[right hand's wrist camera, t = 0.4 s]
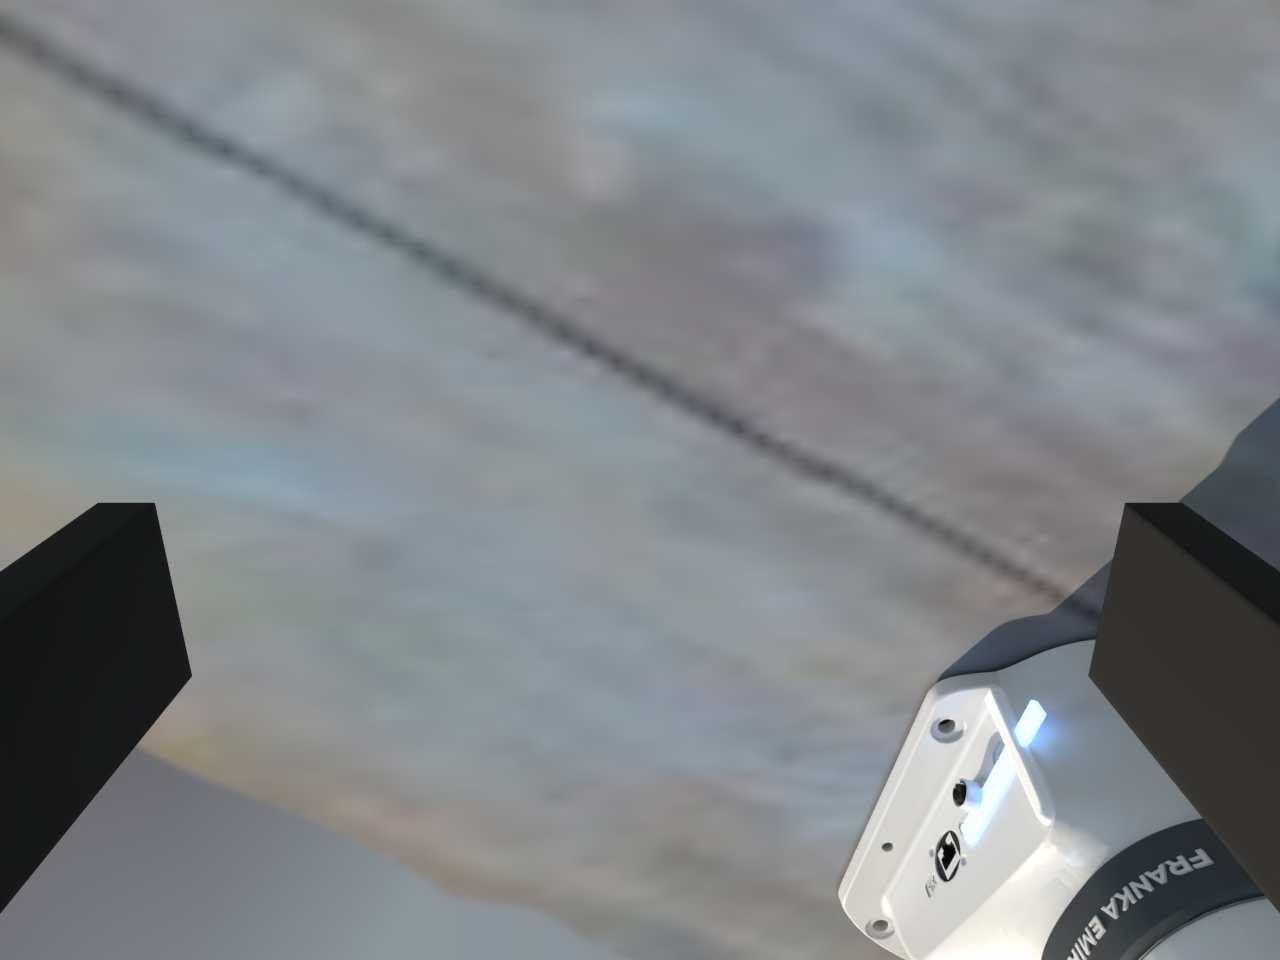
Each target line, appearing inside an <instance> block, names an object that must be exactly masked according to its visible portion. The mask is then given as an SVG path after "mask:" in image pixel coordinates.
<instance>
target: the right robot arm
mask: <svg viewBox="0 0 1280 960" xmlns="http://www.w3.org/2000/svg"><path fill="white" fill-rule="evenodd" d="M191 677H192V674H191V669H190V665H189V660H188V655H187V651H186V646H185V641H184V637H183V632H182V627H181V623H180V618H179V613H178V609H177V604H176V599H175V595H174V590H173V585H172V581H171V576H170V572H169V567H168V562H167V558H166V553H165V548H164V544H163V539H162V534H161V530H160V525H159V520H158V516H157V511H156V506H155V503H97V504H96V505H94V506H93V507H92V508H90V509H89V510H87V511H86V512H84V513H83V514H82V515H80V516H79V517H77V518H76V519H74V520H73V521H72V522H70V523H69V524H67V525H66V526H65V527H63V528H62V529H60V530H59V531H57V532H56V533H55V534H53V535H52V536H50V537H49V538H48V539H46V540H45V541H43V542H42V543H40V544H39V545H38V546H36V547H35V548H33V549H32V550H30V551H29V552H28V553H26V554H25V555H23V556H22V557H21V558H19V559H18V560H16V561H15V562H13V563H12V564H11V565H9V566H8V567H6V568H5V569H4V570H2V571H1V572H0V913H1V912H2V911H3V910H4V908H5V907H6V906H7V904H8V903H9V902H10V901H11V900H12V898H13V897H14V896H15V895H16V893H17V892H18V891H19V890H20V888H21V887H22V886H23V885H24V884H25V882H26V881H27V880H28V879H29V877H30V876H31V875H32V874H33V872H34V871H35V870H36V869H37V867H38V866H39V865H40V864H41V862H42V861H43V860H44V859H45V857H46V856H47V855H48V854H49V853H50V851H51V850H52V849H53V848H54V846H55V845H56V844H57V843H58V841H59V840H60V839H61V838H62V836H63V835H64V834H65V833H66V831H67V830H68V829H69V828H70V827H71V825H72V824H73V823H74V822H75V820H76V819H77V818H78V817H79V815H80V814H81V813H82V812H83V810H84V809H85V808H86V807H87V805H88V804H89V803H90V802H91V801H92V799H93V798H94V797H95V796H96V794H97V793H98V792H99V791H100V789H101V788H102V787H103V786H104V784H105V783H106V782H107V781H108V779H109V778H110V777H111V776H112V775H113V773H114V772H115V771H116V770H117V768H118V767H119V766H120V765H121V763H122V762H123V761H124V760H125V758H126V757H127V756H128V755H129V753H130V752H131V751H132V750H133V748H134V747H135V746H136V745H137V744H138V742H139V741H140V740H141V739H142V737H143V736H144V735H145V734H146V732H147V731H148V730H149V729H150V727H151V726H152V725H153V724H154V722H155V721H156V720H157V719H158V718H159V716H160V715H161V714H162V713H163V711H164V710H165V709H166V708H167V706H168V705H169V704H170V703H171V701H172V700H173V699H174V698H175V696H176V695H177V694H178V693H179V692H180V690H181V689H182V688H183V687H184V685H185V684H186V683H187V682H188V680H189V679H190V678H191ZM1088 677H1089V678H1090V679H1091V680H1092V682H1093V683H1094V684H1095V685H1096V687H1097V688H1098V689H1099V690H1100V692H1101V693H1102V694H1103V695H1104V696H1105V698H1106V699H1107V700H1108V701H1109V703H1110V704H1111V705H1112V706H1113V708H1114V709H1115V710H1116V711H1117V713H1118V714H1119V715H1120V716H1121V718H1122V719H1123V720H1124V721H1125V722H1126V724H1127V725H1128V726H1129V727H1130V729H1131V730H1132V731H1133V732H1134V734H1135V735H1136V736H1137V737H1138V739H1139V740H1140V741H1141V742H1142V744H1143V745H1144V746H1145V747H1146V748H1147V750H1148V751H1149V752H1150V753H1151V755H1152V756H1153V757H1154V758H1155V760H1156V761H1157V762H1158V763H1159V765H1160V766H1161V767H1162V768H1163V770H1164V771H1165V772H1166V773H1167V775H1168V776H1169V777H1170V778H1171V779H1172V781H1173V782H1174V783H1175V784H1176V786H1177V787H1178V788H1179V789H1180V791H1181V792H1182V793H1183V794H1184V796H1185V797H1186V798H1187V799H1188V801H1189V802H1190V803H1191V804H1192V805H1193V807H1194V808H1195V809H1196V810H1197V812H1198V813H1199V814H1200V815H1201V817H1202V818H1203V819H1204V820H1205V822H1206V823H1207V824H1208V825H1209V827H1210V828H1211V829H1212V830H1213V831H1214V833H1215V834H1216V835H1217V836H1218V838H1219V839H1220V840H1221V841H1222V843H1223V844H1224V845H1225V846H1226V848H1227V849H1228V850H1229V851H1230V853H1231V854H1232V855H1233V856H1234V858H1235V859H1236V860H1237V861H1238V862H1239V864H1240V865H1241V866H1242V867H1243V869H1244V870H1245V871H1246V872H1247V874H1248V875H1249V876H1250V877H1251V879H1252V880H1253V881H1254V882H1255V884H1256V885H1257V886H1258V887H1259V888H1260V890H1261V891H1262V892H1263V893H1264V895H1265V896H1266V897H1267V898H1268V900H1269V901H1270V902H1271V903H1272V905H1273V906H1274V907H1275V908H1276V910H1277V911H1278V912H1279V913H1280V572H1279V571H1278V570H1276V569H1275V568H1274V567H1272V566H1271V565H1269V564H1268V563H1267V562H1265V561H1264V560H1262V559H1261V558H1259V557H1258V556H1257V555H1255V554H1254V553H1252V552H1251V551H1250V550H1248V549H1247V548H1245V547H1244V546H1242V545H1241V544H1240V543H1238V542H1237V541H1235V540H1234V539H1232V538H1231V537H1230V536H1228V535H1227V534H1225V533H1224V532H1223V531H1221V530H1220V529H1218V528H1217V527H1215V526H1214V525H1213V524H1211V523H1210V522H1208V521H1207V520H1206V519H1204V518H1203V517H1201V516H1200V515H1198V514H1197V513H1196V512H1194V511H1193V510H1191V509H1190V508H1188V507H1187V506H1186V505H1184V504H1183V503H1125V506H1124V511H1123V516H1122V520H1121V525H1120V530H1119V534H1118V539H1117V544H1116V548H1115V553H1114V558H1113V562H1112V567H1111V572H1110V576H1109V581H1108V585H1107V590H1106V595H1105V599H1104V604H1103V609H1102V613H1101V618H1100V623H1099V627H1098V632H1097V637H1096V641H1095V646H1094V651H1093V655H1092V660H1091V665H1090V669H1089V674H1088Z"/></svg>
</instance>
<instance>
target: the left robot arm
mask: <svg viewBox="0 0 1280 960" xmlns="http://www.w3.org/2000/svg"><path fill="white" fill-rule="evenodd" d="M1095 641H1096V639H1094V640H1086V641H1080V642H1075V643H1070V644H1066V645H1063V646H1059V647H1056V648H1053V649H1050V650H1047V651H1044V652H1042V653H1039V654H1037V655H1034V656H1032V657H1030V658H1028V659H1026V660H1023V661H1021V662H1019V663H1017V664H1015V665H1012V666H1010V667H1007V668H1005V669H1002V670H998V671H995V672H984V673H974V674H965V675H959V676H954V677H949V678H946V679H943V680H941V681H939V682H938V683H936V684H935V685H934V686H932V688H931V689H930V690H929V692H928V693H927V695H926V697H925V699H924V702H923V704H922V706H921V708H920V710H919V713H918V715H917V717H916V719H915V721H914V724H913V726H912V728H911V730H910V732H909V735H908V737H907V739H906V741H905V743H904V746H903V748H902V750H901V752H900V754H899V756H898V759H897V761H896V763H895V765H894V767H893V770H892V772H891V774H890V776H889V778H888V781H887V783H886V785H885V787H884V789H883V792H882V794H881V796H880V798H879V800H878V803H877V805H876V807H875V809H874V811H873V814H872V816H871V818H870V820H869V822H868V825H867V827H866V829H865V831H864V833H863V836H862V838H861V840H860V842H859V844H858V847H857V849H856V851H855V853H854V855H853V857H852V860H851V862H850V864H849V866H848V868H847V871H846V873H845V875H844V878H843V880H842V882H841V884H840V888H839V891H838V896H839V898H840V901H841V903H842V906H843V908H844V910H845V912H846V913H847V915H848V916H849V918H850V919H851V920H852V922H853V923H854V924H855V925H856V926H857V927H858V928H859V929H860V930H861V931H862V932H863V933H864V934H865V935H867V936H868V937H869V938H871V939H872V940H873V941H874V942H876V943H877V944H879V945H880V946H882V947H884V948H885V949H887V950H889V951H890V952H892V953H894V954H896V955H898V956H900V957H902V958H904V959H906V960H1280V913H1279V912H1278V911H1277V910H1276V908H1275V907H1274V906H1273V905H1272V903H1271V902H1270V901H1269V900H1268V898H1267V897H1266V896H1265V895H1264V893H1263V892H1262V891H1261V890H1260V888H1259V887H1258V886H1257V885H1256V884H1255V882H1254V881H1253V880H1252V879H1251V877H1250V876H1249V875H1248V874H1247V872H1246V871H1245V870H1244V869H1243V867H1242V866H1241V865H1240V864H1239V862H1238V861H1237V860H1236V859H1235V858H1234V856H1233V855H1232V854H1231V853H1230V851H1229V850H1228V849H1227V848H1226V846H1225V845H1224V844H1223V843H1222V841H1221V840H1220V839H1219V838H1218V836H1217V835H1216V834H1215V833H1214V831H1213V830H1212V829H1211V828H1210V827H1209V825H1208V824H1207V823H1206V822H1205V820H1204V819H1203V818H1202V817H1201V815H1200V814H1199V813H1198V812H1197V810H1196V809H1195V808H1194V807H1193V805H1192V804H1191V803H1190V802H1189V801H1188V799H1187V798H1186V797H1185V796H1184V794H1183V793H1182V792H1181V791H1180V789H1179V788H1178V787H1177V786H1176V784H1175V783H1174V782H1173V781H1172V779H1171V778H1170V777H1169V776H1168V775H1167V773H1166V772H1165V771H1164V770H1163V768H1162V767H1161V766H1160V765H1159V763H1158V762H1157V761H1156V760H1155V758H1154V757H1153V756H1152V755H1151V753H1150V752H1149V751H1148V750H1147V748H1146V747H1145V746H1144V745H1143V744H1142V742H1141V741H1140V740H1139V739H1138V737H1137V736H1136V735H1135V734H1134V732H1133V731H1132V730H1131V729H1130V727H1129V726H1128V725H1127V724H1126V722H1125V721H1124V720H1123V719H1122V718H1121V716H1120V715H1119V714H1118V713H1117V711H1116V710H1115V709H1114V708H1113V706H1112V705H1111V704H1110V703H1109V701H1108V700H1107V699H1106V698H1105V696H1104V695H1103V694H1102V693H1101V692H1100V690H1099V689H1098V688H1097V687H1096V685H1095V684H1094V683H1093V682H1092V680H1091V679H1090V678H1089V677H1088V674H1089V669H1090V665H1091V660H1092V655H1093V651H1094V646H1095ZM945 719H950V721H949V722H948V723H946V724H943V725H939V723H940V722H941V721H943V720H945ZM878 920H879V921H878Z"/></svg>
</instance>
